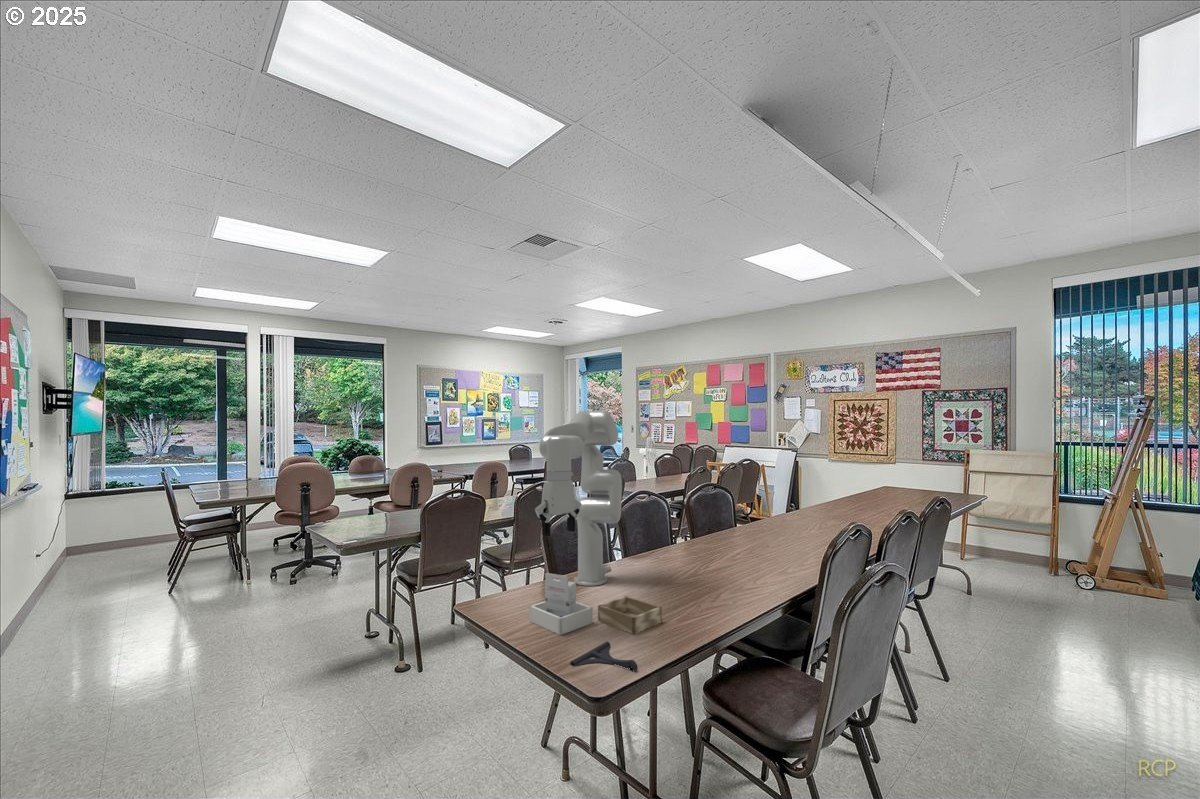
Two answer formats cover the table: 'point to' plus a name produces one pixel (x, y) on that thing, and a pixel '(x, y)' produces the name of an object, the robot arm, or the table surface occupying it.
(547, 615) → the frame
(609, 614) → the frame
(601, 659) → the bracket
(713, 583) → the table surface
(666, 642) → the table surface
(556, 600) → the ink box
